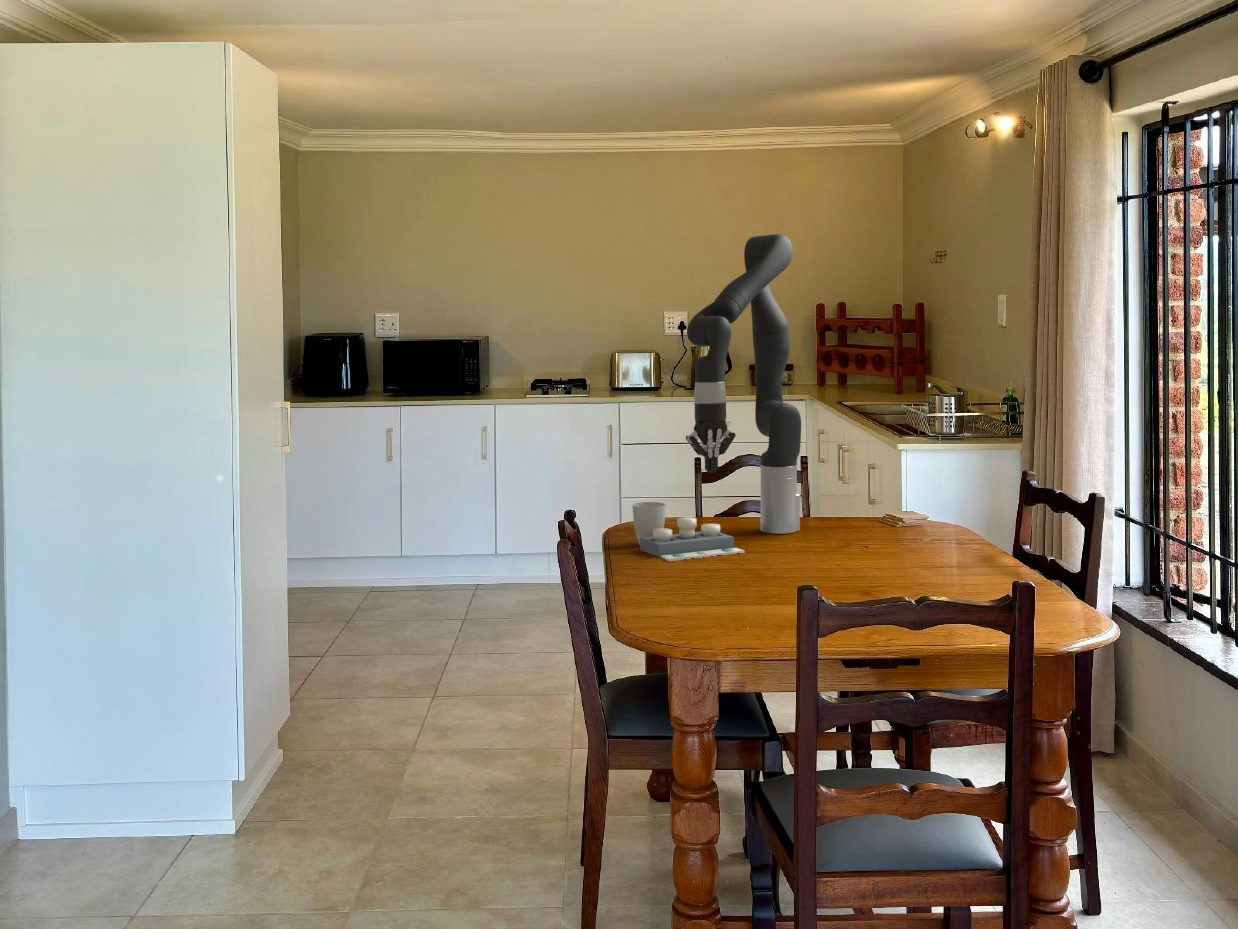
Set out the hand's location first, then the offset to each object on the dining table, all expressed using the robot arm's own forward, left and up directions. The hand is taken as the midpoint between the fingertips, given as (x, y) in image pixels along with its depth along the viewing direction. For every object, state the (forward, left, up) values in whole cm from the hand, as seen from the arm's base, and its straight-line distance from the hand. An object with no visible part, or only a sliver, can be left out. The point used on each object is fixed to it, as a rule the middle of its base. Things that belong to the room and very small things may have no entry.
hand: (711, 472), depth 282 cm
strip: (+7, +8, -18) cm, 21 cm away
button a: (0, 0, -17) cm, 17 cm away
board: (+7, 0, -18) cm, 19 cm away
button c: (+13, 0, -17) cm, 22 cm away
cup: (+12, -10, -18) cm, 24 cm away
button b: (+7, 0, -15) cm, 17 cm away
